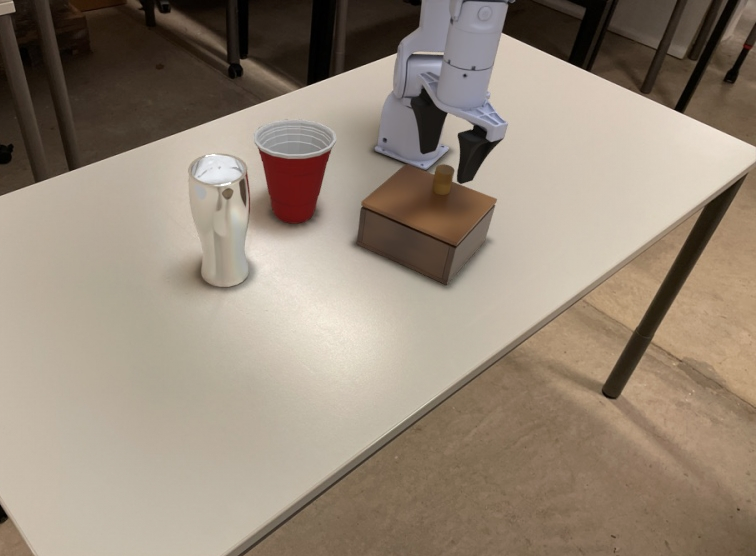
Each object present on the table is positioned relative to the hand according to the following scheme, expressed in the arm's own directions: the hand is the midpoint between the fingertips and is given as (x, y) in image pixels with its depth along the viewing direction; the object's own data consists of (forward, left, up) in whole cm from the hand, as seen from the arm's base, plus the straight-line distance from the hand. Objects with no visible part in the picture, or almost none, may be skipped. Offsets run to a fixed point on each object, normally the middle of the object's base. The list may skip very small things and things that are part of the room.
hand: (445, 165), depth 84 cm
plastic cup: (-18, -8, -11) cm, 22 cm away
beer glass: (-17, -24, -11) cm, 31 cm away
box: (0, -3, -10) cm, 11 cm away
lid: (0, -3, -4) cm, 5 cm away
